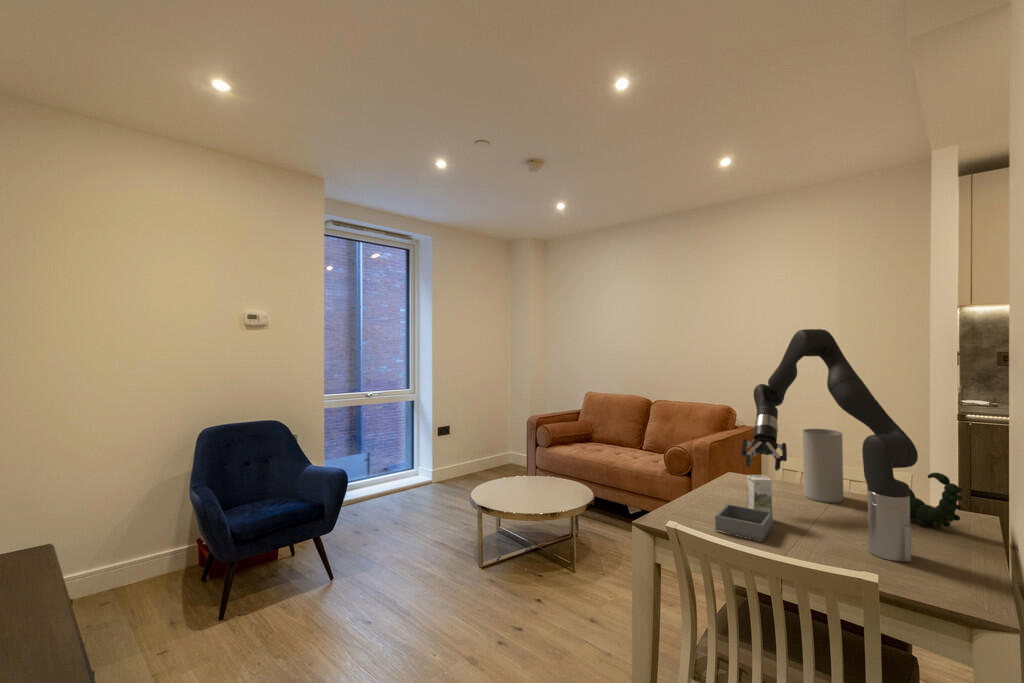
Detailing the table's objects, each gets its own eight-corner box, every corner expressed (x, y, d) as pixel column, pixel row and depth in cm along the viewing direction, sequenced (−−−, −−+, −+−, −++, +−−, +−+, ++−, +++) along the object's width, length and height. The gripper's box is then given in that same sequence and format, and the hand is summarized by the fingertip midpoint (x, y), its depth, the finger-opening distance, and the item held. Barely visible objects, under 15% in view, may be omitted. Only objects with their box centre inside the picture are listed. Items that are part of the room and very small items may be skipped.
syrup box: (764, 516, 162) (764, 474, 162) (772, 523, 156) (771, 479, 156) (747, 516, 163) (746, 474, 163) (754, 523, 157) (753, 478, 157)
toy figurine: (965, 538, 146) (882, 504, 170) (971, 478, 145) (886, 452, 169) (943, 542, 144) (862, 507, 168) (949, 481, 142) (866, 454, 166)
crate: (772, 528, 152) (772, 512, 152) (763, 542, 142) (763, 525, 142) (727, 518, 161) (727, 503, 161) (715, 531, 150) (715, 515, 150)
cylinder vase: (796, 494, 184) (794, 430, 184) (820, 491, 188) (819, 427, 188) (826, 505, 172) (824, 435, 172) (851, 501, 176) (850, 433, 176)
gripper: (743, 422, 178) (738, 459, 168) (787, 425, 170) (785, 464, 160) (745, 434, 182) (741, 471, 173) (788, 437, 174) (786, 476, 165)
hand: (762, 467), depth 167 cm, fingers open, 8 cm apart
